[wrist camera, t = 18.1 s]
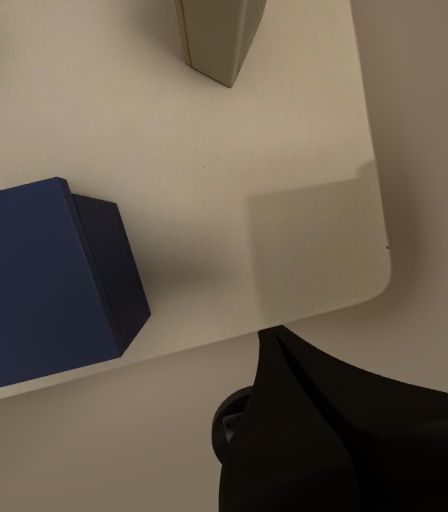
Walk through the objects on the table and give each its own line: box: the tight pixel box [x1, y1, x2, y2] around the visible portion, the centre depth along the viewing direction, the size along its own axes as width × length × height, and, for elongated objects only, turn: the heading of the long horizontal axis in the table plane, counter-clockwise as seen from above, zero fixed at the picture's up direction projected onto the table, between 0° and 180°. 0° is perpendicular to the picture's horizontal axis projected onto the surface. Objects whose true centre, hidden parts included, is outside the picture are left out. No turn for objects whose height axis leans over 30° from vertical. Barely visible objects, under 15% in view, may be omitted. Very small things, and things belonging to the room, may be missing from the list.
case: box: [71, 194, 151, 350], centre depth 17 cm, size 11×12×6 cm
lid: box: [0, 177, 125, 387], centre depth 13 cm, size 11×12×1 cm
